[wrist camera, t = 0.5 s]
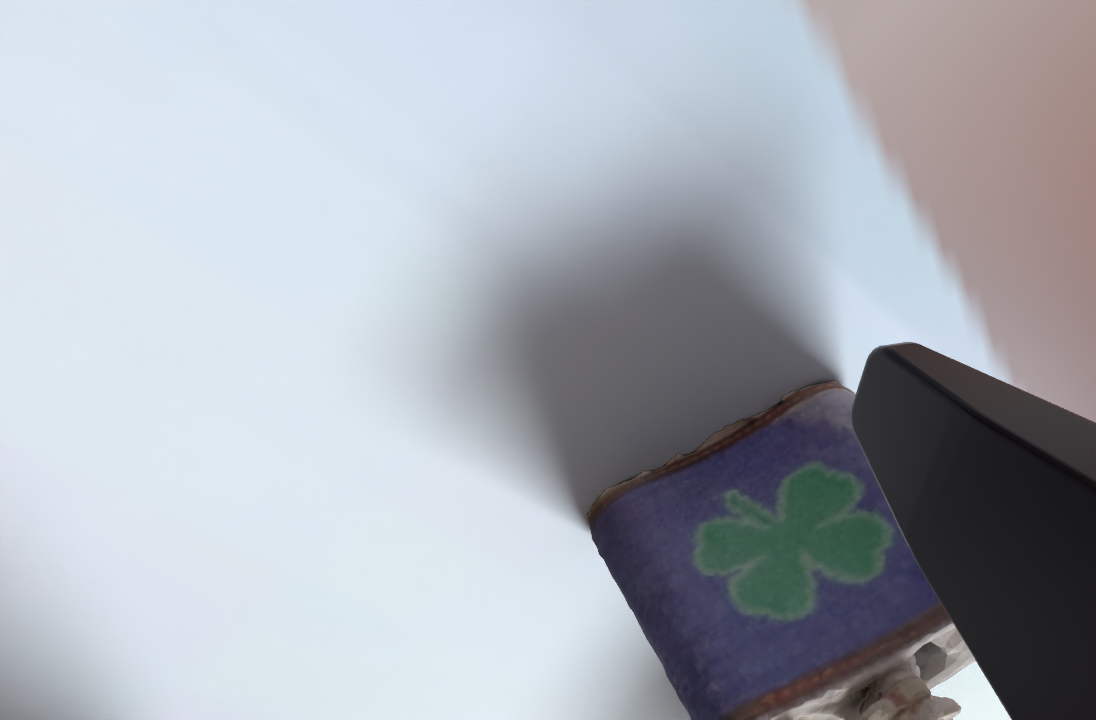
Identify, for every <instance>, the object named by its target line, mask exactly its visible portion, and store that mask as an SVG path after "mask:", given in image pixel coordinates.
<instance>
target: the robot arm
mask: <svg viewBox="0 0 1096 720" xmlns="http://www.w3.org/2000/svg"><path fill="white" fill-rule="evenodd" d="M851 422H852V427H853V431H854V433H855V436H856V438H857V440H858V442H859V444H860V446H861V449H862V451H863V453H864V455H865V457H866V459H867V461H868V463H869V466H870V468H871V470H872V472H873V474H874V476H875V478H876V480H877V482H878V485H879V487H880V489H881V491H882V493H883V495H884V497H885V499H886V501H887V504H888V506H889V508H890V510H891V512H892V514H893V516H894V518H895V520H896V523H897V525H898V527H899V529H900V531H901V533H902V535H903V537H904V539H905V541H906V543H907V545H908V547H909V549H910V551H911V553H912V555H913V557H914V559H915V560H916V562H917V564H918V566H919V567H920V569H921V571H922V572H923V574H924V576H925V578H926V579H927V581H928V583H929V584H930V586H931V588H932V589H933V591H934V592H935V594H936V596H937V597H938V599H939V601H940V602H941V604H942V606H943V607H944V609H945V611H946V612H947V614H948V616H949V617H950V619H951V620H952V622H953V624H954V625H955V627H956V629H957V630H958V632H959V634H960V635H961V637H962V639H963V640H964V642H965V644H966V645H967V647H968V649H969V650H970V652H971V653H972V655H973V657H974V658H975V660H976V662H977V663H978V665H979V667H980V668H981V670H982V672H983V673H984V675H985V677H986V678H987V680H988V681H989V683H990V685H991V686H992V688H993V690H994V691H995V693H996V695H997V696H998V698H999V700H1000V701H1001V703H1002V705H1003V706H1004V708H1005V709H1006V711H1007V713H1008V714H1009V716H1010V718H1011V719H1012V720H1096V423H1095V422H1093V421H1090V420H1088V419H1086V418H1084V417H1081V416H1079V415H1077V414H1075V413H1073V412H1070V411H1068V410H1066V409H1064V408H1061V407H1059V406H1057V405H1054V404H1052V403H1050V402H1048V401H1045V400H1043V399H1041V398H1039V397H1036V396H1034V395H1032V394H1030V393H1028V392H1025V391H1023V390H1021V389H1019V388H1016V387H1014V386H1012V385H1010V384H1007V383H1005V382H1003V381H1001V380H998V379H996V378H994V377H992V376H989V375H987V374H985V373H983V372H980V371H978V370H976V369H974V368H971V367H969V366H967V365H965V364H962V363H960V362H958V361H956V360H953V359H951V358H949V357H947V356H944V355H942V354H940V353H938V352H935V351H933V350H931V349H929V348H926V347H924V346H922V345H920V344H917V343H913V342H904V343H897V344H891V345H884V346H879V347H877V348H875V349H874V350H873V351H872V352H871V353H870V355H869V356H868V358H867V361H866V364H865V367H864V370H863V374H862V377H861V380H860V383H859V386H858V389H857V392H856V395H855V399H854V402H853V405H852V409H851Z"/></svg>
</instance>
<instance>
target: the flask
mask: <svg viewBox="0 0 1096 720" xmlns="http://www.w3.org/2000/svg"><path fill="white" fill-rule="evenodd" d="M855 395H856V394H855V393H854V392H852V391H851V390H849V389H848V388H846V387H844V386H842V385H840V384H838V383H837V382H836V381H833V382H830V383H822V384H817V385H810V386H806V387H804V388H802V389H800V390H797V391H793V392H790V393H788V394H787V395H784V396H783V397H781V400H783V402H782V403H781V405H779V404H777V405H776V406H774V407H773V408H770V409H767V410H766V411H764V412H761V413H759V414H758V415H755V416H751V417H750V418H748V419H747V420H746V419H742V420H740V421H738V422H736V423H735V424H732V425H726V426H725V427H724V428H723V429H722V430H721V431H719V432H716V433H713V434H712V435H711V436H710V438H709V439H708V438H707V442H705V443H703V444H702V446H701V447H699V448H698V449H697V451H696V452H693V453H692V454H688V455H686V456H684V455H681V454H679V453H677V454H676V456H675V457H674V458H672V459H671V460H670V461H669V462H668V463H667V464H666V466H663V467H661V468H659V469H657V470H653V471H647V472H645V471H642V473H641V474H640V475H637V477H635V478H633V479H632V480H629V481H625V482H623V483H621V484H619V485H617V486H614V487H610V488H608V489H606V490H605V491H604V492H603V493H602V494H601V496H599V497H598V499H597V501H596V502H595V505H593V506H592V508H591V510H590V512H589V513H587V515H589V518H588V520H589V524H590V527H591V534H592V540H593V541H594V543H595V545H596V546H597V549H598V552H599V555H600V556H601V557H602V558H603V559H604V561H605V563H606V565H607V567H608V569H609V571H610V573H611V575H612V577H613V579H614V580H615V582H616V583H617V585H618V586H619V588H620V590H621V592H622V594H623V595H624V597H625V599H626V601H627V603H628V605H629V607H630V609H631V610H632V611H633V612H634V614H635V616H636V618H637V620H638V622H639V624H640V626H641V628H642V630H643V632H644V634H645V636H646V638H647V640H648V641H649V643H650V645H651V646H652V648H653V649H654V651H655V653H656V654H657V656H658V658H659V659H660V661H661V663H662V665H663V667H664V669H665V671H666V674H667V677H668V679H669V680H670V682H671V684H672V686H673V687H674V689H675V691H676V693H677V695H678V697H679V699H680V701H681V702H682V704H683V705H684V707H685V708H686V710H687V711H688V713H689V715H690V717H691V719H692V720H953V717H955V716H956V715H958V714H959V713H960V711H961V707H960V706H959V705H958V704H957V703H956V702H955V701H954V700H953V699H949V698H946V697H944V698H940V697H936V696H932V695H931V692H930V689H931V688H933V687H934V686H936V685H938V684H940V683H941V682H943V681H945V680H947V679H949V678H950V677H952V676H953V675H954V674H956V673H957V672H959V671H960V670H962V669H963V668H965V667H966V666H968V665H970V664H971V663H973V662H974V661H976V660H975V658H974V657H973V655H972V653H971V652H970V650H969V649H968V647H967V645H966V644H965V642H964V640H963V639H962V637H961V635H960V634H959V632H958V630H957V629H956V627H955V625H954V624H953V622H952V620H951V619H950V617H949V616H948V614H947V612H946V611H945V609H944V607H943V606H942V604H941V602H940V601H939V599H938V597H937V596H936V594H935V592H934V591H933V589H932V588H931V586H930V584H929V583H928V581H927V579H926V578H925V576H924V574H923V572H922V571H921V569H920V567H919V566H918V564H917V562H916V560H915V559H914V557H913V555H912V553H911V551H910V549H909V547H908V545H907V543H906V541H905V539H904V537H903V535H902V533H901V531H900V529H899V527H898V525H897V523H896V520H895V518H894V516H893V514H892V512H891V510H890V508H889V506H888V504H887V501H886V499H885V497H884V495H883V493H882V491H881V489H880V487H879V485H878V482H877V480H876V478H875V476H874V474H873V472H872V470H871V468H870V466H869V463H868V461H867V459H866V457H865V455H864V453H863V451H862V449H861V446H860V444H859V442H858V440H857V438H856V436H855V433H854V431H853V427H852V422H851V409H852V405H853V402H854V399H855Z"/></svg>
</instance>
